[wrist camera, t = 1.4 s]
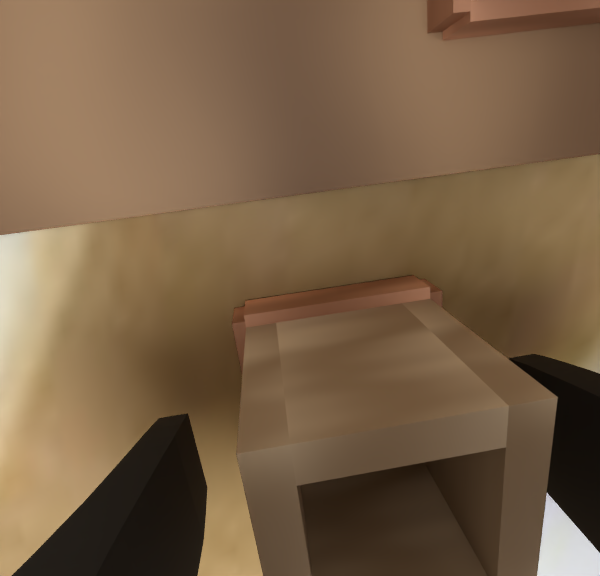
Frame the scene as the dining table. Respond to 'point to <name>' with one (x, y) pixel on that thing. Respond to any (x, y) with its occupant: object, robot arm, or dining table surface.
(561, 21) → the seated sleeve
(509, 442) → the banded sleeve
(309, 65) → the pin board
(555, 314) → the dining table surface
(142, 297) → the dining table surface
